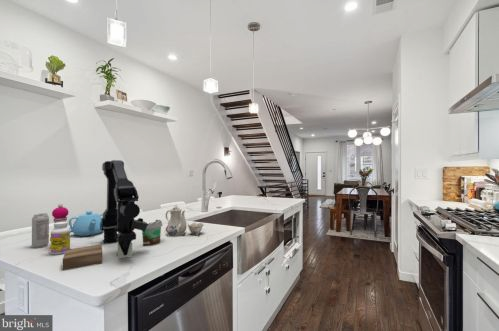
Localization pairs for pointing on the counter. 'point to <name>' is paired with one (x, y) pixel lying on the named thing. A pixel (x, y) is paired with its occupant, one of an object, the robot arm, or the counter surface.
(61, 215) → the pepper mill
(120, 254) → the sage cube
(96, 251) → the walnut block
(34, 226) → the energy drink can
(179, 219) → the chinaware
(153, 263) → the counter surface
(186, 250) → the counter surface
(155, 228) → the food container
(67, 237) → the supplement bottle
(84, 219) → the teapot
